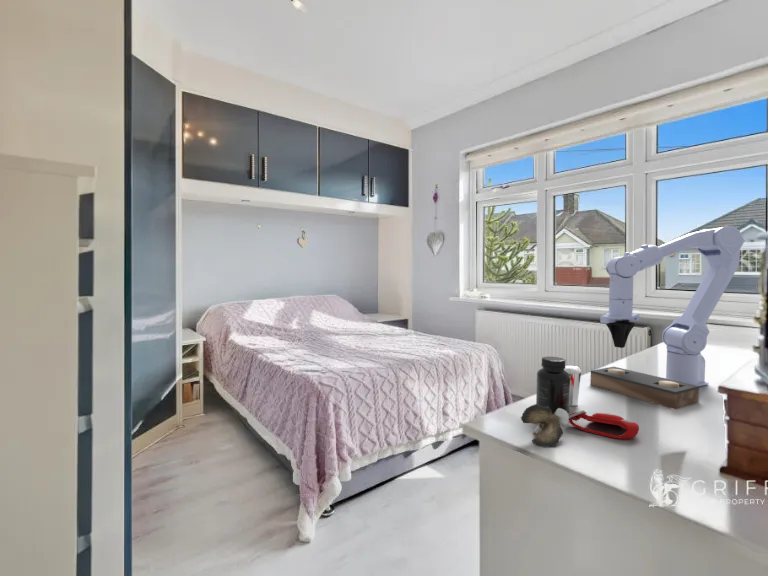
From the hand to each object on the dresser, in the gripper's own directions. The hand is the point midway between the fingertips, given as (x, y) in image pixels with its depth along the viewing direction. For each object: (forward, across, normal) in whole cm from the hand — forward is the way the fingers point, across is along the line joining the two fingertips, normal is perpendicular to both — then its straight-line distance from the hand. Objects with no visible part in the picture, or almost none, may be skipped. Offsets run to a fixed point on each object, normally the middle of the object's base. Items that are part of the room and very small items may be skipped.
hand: (619, 347), depth 110 cm
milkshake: (+10, +28, +6) cm, 30 cm away
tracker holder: (+10, +35, +19) cm, 41 cm away
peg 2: (+9, +5, +16) cm, 19 cm away
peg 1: (+9, +5, +3) cm, 11 cm away
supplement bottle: (+10, +36, +8) cm, 38 cm away
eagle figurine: (+10, +48, +17) cm, 52 cm away
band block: (+10, +5, +9) cm, 14 cm away
